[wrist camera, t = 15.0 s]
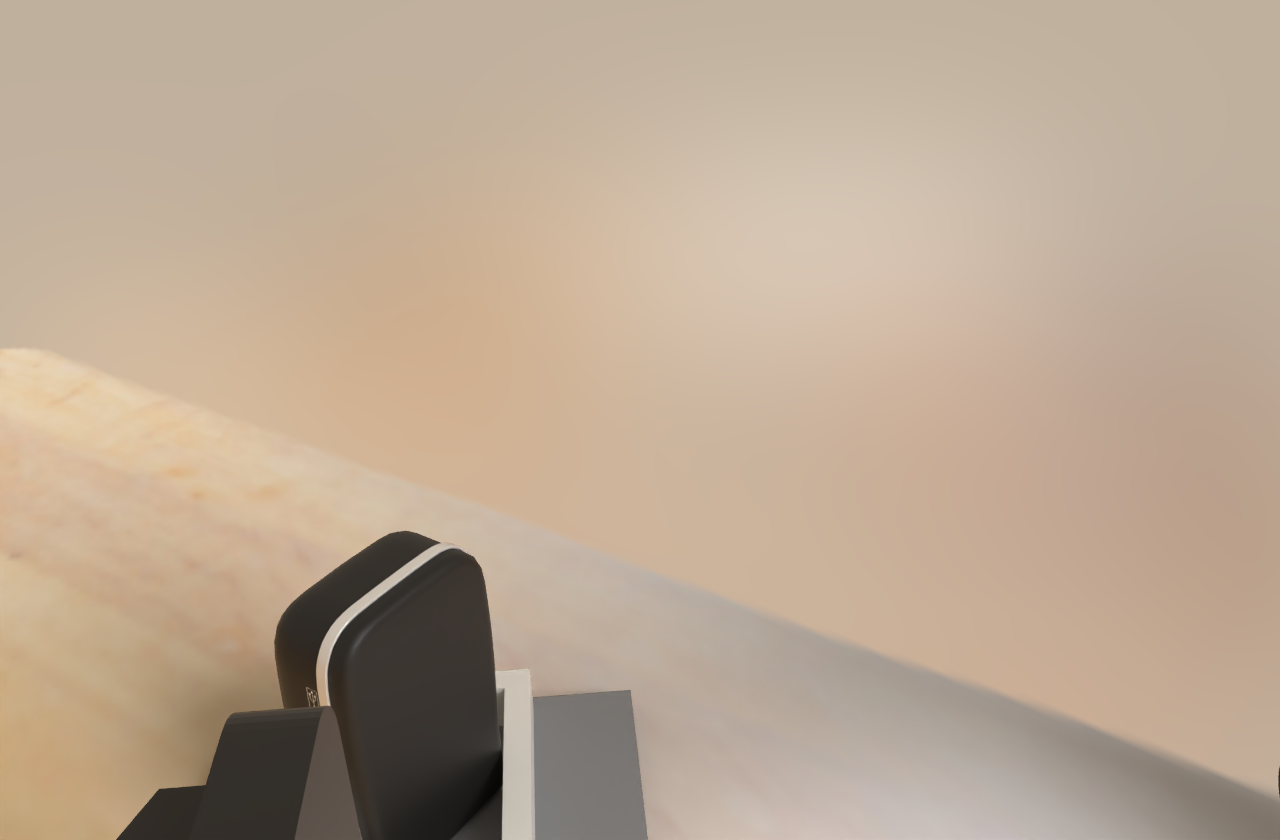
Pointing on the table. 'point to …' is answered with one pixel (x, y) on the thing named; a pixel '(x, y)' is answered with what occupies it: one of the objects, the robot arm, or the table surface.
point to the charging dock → (563, 768)
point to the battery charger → (402, 682)
